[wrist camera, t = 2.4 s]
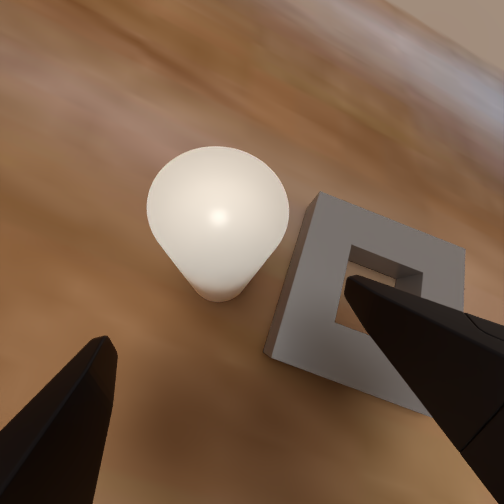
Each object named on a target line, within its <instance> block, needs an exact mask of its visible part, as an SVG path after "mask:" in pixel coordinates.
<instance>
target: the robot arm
mask: <svg viewBox="0 0 504 504" xmlns="http://www.w3.org/2000/svg"><path fill="white" fill-rule="evenodd" d="M344 295H345V298H346V300H347V301H348V303H349V304H350V306H351V308H352V309H353V311H354V313H355V314H356V316H357V317H358V319H359V321H360V322H361V324H362V325H363V327H364V328H365V330H366V331H367V333H368V334H369V335H370V337H371V338H372V339H373V340H374V342H375V343H376V344H377V346H378V347H379V348H380V350H381V351H382V352H383V353H384V355H385V356H386V357H387V359H388V360H389V361H390V363H391V364H392V365H393V367H394V368H395V369H396V370H397V372H398V373H399V374H400V376H401V377H402V378H403V380H404V381H405V382H406V383H407V385H408V386H409V387H410V389H411V390H412V391H413V393H414V394H415V395H416V397H417V398H418V399H419V400H420V402H421V403H422V404H423V406H424V407H425V408H426V410H427V411H428V412H429V413H430V415H431V416H432V417H433V419H434V420H435V421H436V423H437V424H438V425H439V427H440V428H441V429H442V430H443V432H444V433H445V434H446V436H447V437H448V438H449V440H450V441H451V442H452V443H453V445H454V446H455V447H456V449H457V450H458V451H459V452H460V454H461V455H462V457H463V458H464V459H465V461H466V462H467V463H468V465H469V466H470V467H471V469H472V470H473V471H474V472H475V474H476V475H477V476H478V478H479V479H480V480H481V482H482V483H483V484H484V485H485V487H486V488H487V489H488V491H489V492H490V493H491V495H492V496H493V497H494V498H495V500H496V501H497V502H498V504H504V326H503V325H500V324H497V323H494V322H491V321H488V320H485V319H482V318H479V317H476V316H474V315H471V314H468V313H463V312H462V311H459V310H456V309H454V308H451V307H448V306H445V305H442V304H439V303H436V302H434V301H431V300H428V299H425V298H422V297H419V296H416V295H414V294H411V293H408V292H405V291H402V290H399V289H396V288H394V287H391V286H388V285H385V284H382V283H379V282H377V281H374V280H371V279H368V278H365V277H362V276H359V275H354V276H349V277H348V278H347V279H346V285H345V290H344ZM117 359H118V355H117V351H116V349H115V347H114V346H113V344H112V342H111V340H110V338H109V337H108V336H101V337H97V338H93V339H92V340H90V341H89V342H88V343H87V344H86V345H85V346H84V347H83V348H82V349H81V350H80V351H79V352H78V353H77V355H76V356H75V357H74V358H73V359H72V360H71V361H70V362H69V363H68V364H67V365H66V366H65V367H64V368H63V369H62V370H61V371H60V372H59V373H58V374H57V375H56V376H55V377H54V378H53V379H52V380H51V381H50V382H49V383H48V384H47V385H46V386H45V387H44V388H43V389H42V390H41V391H40V392H39V393H38V394H37V395H36V396H35V397H34V398H33V399H32V400H31V401H30V402H29V403H28V404H27V405H26V406H25V407H24V408H23V409H22V410H21V411H20V412H19V413H18V414H17V415H16V416H15V417H14V418H13V419H12V420H11V421H10V422H9V423H8V424H7V425H6V426H5V427H4V428H3V429H2V430H1V431H0V504H92V503H93V499H94V494H95V489H96V484H97V480H98V475H99V470H100V465H101V460H102V456H103V451H104V446H105V441H106V437H107V432H108V427H109V422H110V417H111V413H112V407H113V400H114V390H115V380H116V370H117Z"/></svg>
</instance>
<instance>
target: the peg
mask: <svg viewBox="0 0 504 504" xmlns="http://www.w3.org/2000/svg"><path fill="white" fill-rule="evenodd" d="M147 216H148V221H149V225H150V227H151V230H152V233H153V234H154V236H155V238H156V240H157V241H158V243H159V244H160V245H161V247H162V248H163V249H164V250H165V252H166V253H167V254H168V256H169V257H170V258H171V260H172V261H173V262H174V264H175V265H176V266H177V267H178V269H179V270H180V271H181V273H182V274H183V275H184V277H185V278H186V279H187V281H188V282H189V283H190V284H191V286H192V287H193V288H194V290H195V291H196V292H197V293H198V294H199V295H200V296H201V297H203V298H204V299H206V300H209V301H212V302H225V301H229V300H231V299H233V298H235V297H236V296H238V295H239V294H240V293H241V292H242V291H243V289H244V288H245V287H246V285H247V284H248V283H249V282H250V280H251V279H252V278H253V277H254V275H255V274H256V273H257V272H258V270H259V269H260V268H261V266H262V265H263V264H264V263H265V261H266V260H267V259H268V258H269V256H270V255H271V254H272V253H273V251H274V250H275V249H276V247H277V246H278V245H279V243H280V242H281V240H282V238H283V236H284V234H285V231H286V228H287V225H288V219H289V205H288V199H287V195H286V192H285V190H284V187H283V185H282V183H281V182H280V180H279V178H278V177H277V176H276V174H275V173H274V172H273V171H272V170H271V169H270V168H269V167H268V166H267V165H266V164H265V163H264V162H262V161H261V160H259V159H258V158H256V157H254V156H253V155H251V154H249V153H246V152H244V151H241V150H238V149H234V148H229V147H220V146H211V147H202V148H197V149H194V150H190V151H188V152H185V153H183V154H181V155H179V156H177V157H176V158H174V159H173V160H171V161H170V162H169V163H168V164H166V165H165V166H164V167H163V168H162V169H161V171H160V172H159V173H158V174H157V176H156V178H155V179H154V181H153V183H152V185H151V188H150V190H149V194H148V199H147Z"/></svg>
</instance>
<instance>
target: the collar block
mask: <svg viewBox="0 0 504 504" xmlns="http://www.w3.org/2000/svg"><path fill="white" fill-rule="evenodd" d="M348 260H349V261H352V262H354V263H357V264H359V265H362V266H364V267H367V268H370V269H372V270H375V271H377V272H380V273H382V274H385V275H388V276H390V277H393V278H395V279H396V285H395V288H396V289H399V290H402V291H405V292H408V293H411V294H414V295H416V296H419V297H422V298H425V299H428V300H431V301H434V302H436V303H439V304H442V305H445V306H448V307H451V308H454V309H456V310H459V311H462V312H463V307H464V276H465V249H464V248H462V247H459V246H457V245H454V244H452V243H449V242H447V241H444V240H442V239H439V238H436V237H434V236H431V235H429V234H426V233H424V232H421V231H419V230H416V229H414V228H411V227H409V226H406V225H404V224H401V223H399V222H396V221H394V220H391V219H389V218H386V217H384V216H381V215H379V214H376V213H374V212H371V211H369V210H366V209H364V208H361V207H358V206H356V205H353V204H351V203H348V202H346V201H343V200H341V199H338V198H336V197H333V196H331V195H328V194H326V193H323V192H321V191H320V192H319V193H318V195H317V196H316V197H315V198H314V200H313V201H312V202H311V203H310V205H309V206H308V207H307V210H306V213H305V217H304V220H303V223H302V226H301V230H300V233H299V236H298V239H297V243H296V246H295V249H294V252H293V256H292V259H291V262H290V265H289V269H288V272H287V275H286V278H285V282H284V285H283V288H282V291H281V295H280V298H279V301H278V304H277V308H276V311H275V314H274V317H273V321H272V324H271V327H270V330H269V334H268V337H267V340H266V343H265V347H264V350H263V352H264V353H265V354H266V355H268V356H269V357H271V358H273V359H276V360H278V361H281V362H284V363H287V364H289V365H292V366H295V367H297V368H300V369H303V370H305V371H308V372H311V373H313V374H316V375H319V376H322V377H324V378H327V379H330V380H332V381H335V382H338V383H340V384H343V385H346V386H348V387H351V388H354V389H356V390H359V391H362V392H365V393H367V394H370V395H373V396H375V397H378V398H381V399H383V400H386V401H389V402H391V403H394V404H397V405H400V406H402V407H405V408H408V409H410V410H413V411H416V412H418V413H421V414H424V415H426V416H429V417H432V416H431V415H430V413H429V412H428V411H427V410H426V408H425V407H424V406H423V404H422V403H421V402H420V400H419V399H418V398H417V397H416V395H415V394H414V393H413V391H412V390H411V389H410V387H409V386H408V385H407V383H406V382H405V381H404V380H403V378H402V377H401V376H400V374H399V373H398V372H397V370H396V369H395V368H394V367H393V365H392V364H391V363H390V361H389V360H388V359H387V357H386V356H385V355H384V353H383V352H382V351H381V350H380V348H379V347H378V346H377V344H376V343H375V342H374V340H373V339H372V338H371V337H370V336H369V335H367V334H364V333H361V332H359V331H356V330H353V329H351V328H348V327H345V326H343V325H340V324H338V323H335V318H336V313H337V308H338V304H339V299H340V295H341V290H342V285H343V281H344V276H345V272H346V267H347V263H348ZM432 418H433V417H432Z"/></svg>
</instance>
